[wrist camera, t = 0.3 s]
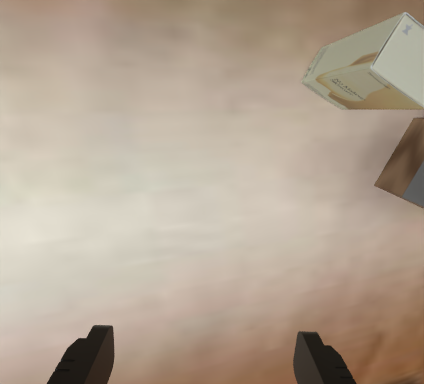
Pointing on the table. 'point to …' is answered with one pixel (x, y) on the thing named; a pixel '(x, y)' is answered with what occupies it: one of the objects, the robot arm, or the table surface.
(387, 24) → the skincare box
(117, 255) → the table surface
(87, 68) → the table surface
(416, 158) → the walnut base block
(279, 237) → the table surface
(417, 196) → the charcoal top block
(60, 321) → the table surface
